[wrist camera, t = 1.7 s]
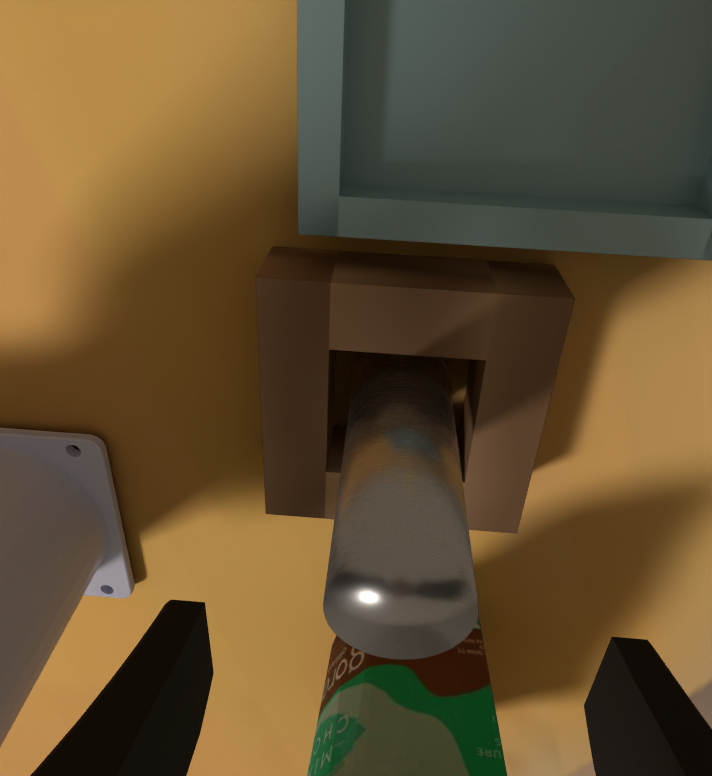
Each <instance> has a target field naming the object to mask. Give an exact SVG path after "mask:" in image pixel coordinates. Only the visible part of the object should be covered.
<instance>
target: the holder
mask: <svg viewBox="0 0 712 776" xmlns="http://www.w3.org/2000/svg"><path fill="white" fill-rule="evenodd" d="M256 297H257V320H258V344H259V367H260V390H261V414H262V437H263V460H264V484H265V507H266V514H274V515H287V516H300V517H313V518H326V519H335V512H336V504H337V497H338V489H339V482H340V474H341V467H342V459H343V452H344V445H345V437H346V430H347V428H345V427H334V395H335V362H336V350H344V351H358V352H372V353H387V354H401V355H416V356H430V357H444V358H459V359H471V363H470V369H469V375H468V382H467V388H466V394H465V400H464V406H463V413H462V419H461V425H460V431H459V436H457V442H458V450H459V458H460V466H461V474H462V481H463V489H464V497H465V505H466V513H467V521H468V529H469V530H479V531H492V532H505V533H517V532H518V527H519V523H520V519H521V515H522V511H523V507H524V503H525V499H526V495H527V491H528V487H529V483H530V479H531V475H532V471H533V467H534V463H535V458H536V454H537V450H538V446H539V442H540V438H541V434H542V430H543V426H544V422H545V418H546V414H547V410H548V406H549V402H550V398H551V394H552V389H553V385H554V381H555V377H556V373H557V369H558V365H559V361H560V357H561V353H562V349H563V345H564V341H565V337H566V333H567V329H568V325H569V320H570V316H571V312H572V308H573V304H574V300H575V298H574V297H573V295H572V293H571V292H570V290H569V288H568V287H567V285H566V283H565V282H564V280H563V278H562V276H561V275H560V273H559V271H558V270H557V268H556V266H555V265H546V264H531V263H515V262H500V261H484V260H469V259H453V258H438V257H422V256H406V255H391V254H375V253H360V252H344V251H329V250H313V249H298V248H282V247H272V249H271V251H270V253H269V254H268V256H267V258H266V260H265V262H264V264H263V265H262V267H261V269H260V271H259V273H258V275H257V276H256Z"/></svg>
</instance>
